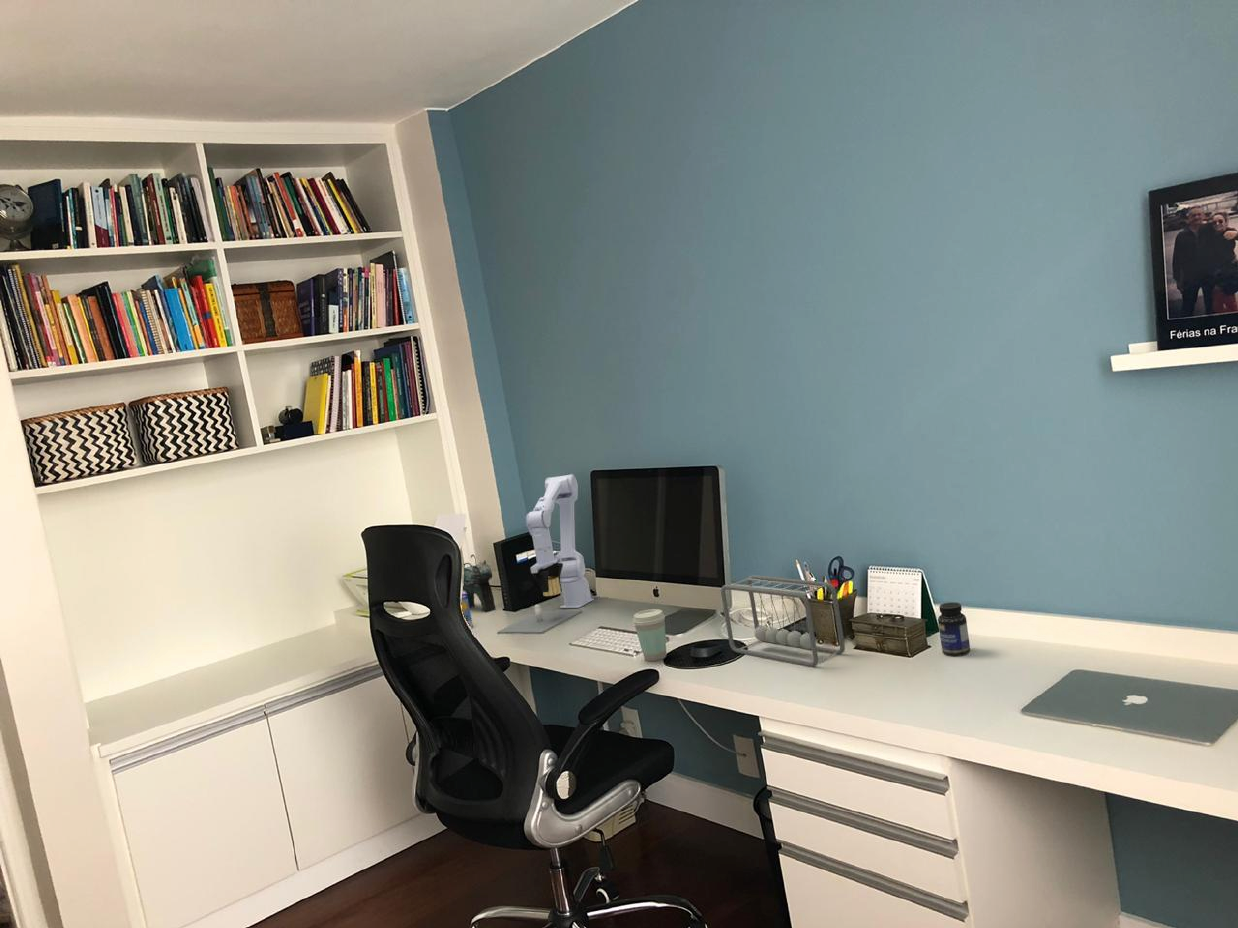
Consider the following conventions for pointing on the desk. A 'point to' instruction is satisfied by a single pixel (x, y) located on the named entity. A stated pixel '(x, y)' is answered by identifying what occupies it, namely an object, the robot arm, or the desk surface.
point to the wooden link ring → (553, 586)
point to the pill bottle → (953, 630)
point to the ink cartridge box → (466, 609)
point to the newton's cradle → (783, 635)
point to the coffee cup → (651, 633)
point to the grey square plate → (539, 621)
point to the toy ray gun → (479, 585)
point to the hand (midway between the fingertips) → (551, 589)
